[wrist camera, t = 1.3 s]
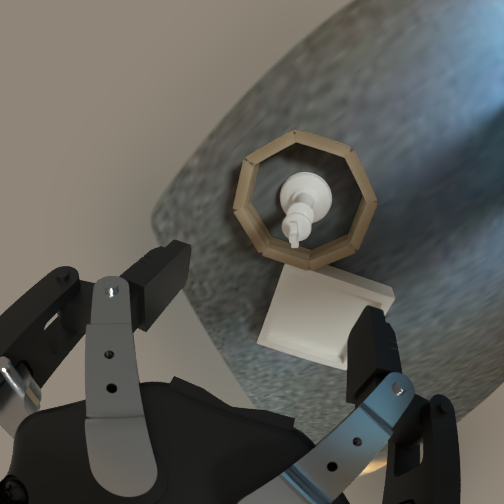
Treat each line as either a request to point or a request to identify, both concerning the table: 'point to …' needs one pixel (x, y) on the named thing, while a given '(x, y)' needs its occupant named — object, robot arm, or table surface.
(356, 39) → the table surface
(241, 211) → the holder ring
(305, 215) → the chess piece
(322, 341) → the tray
